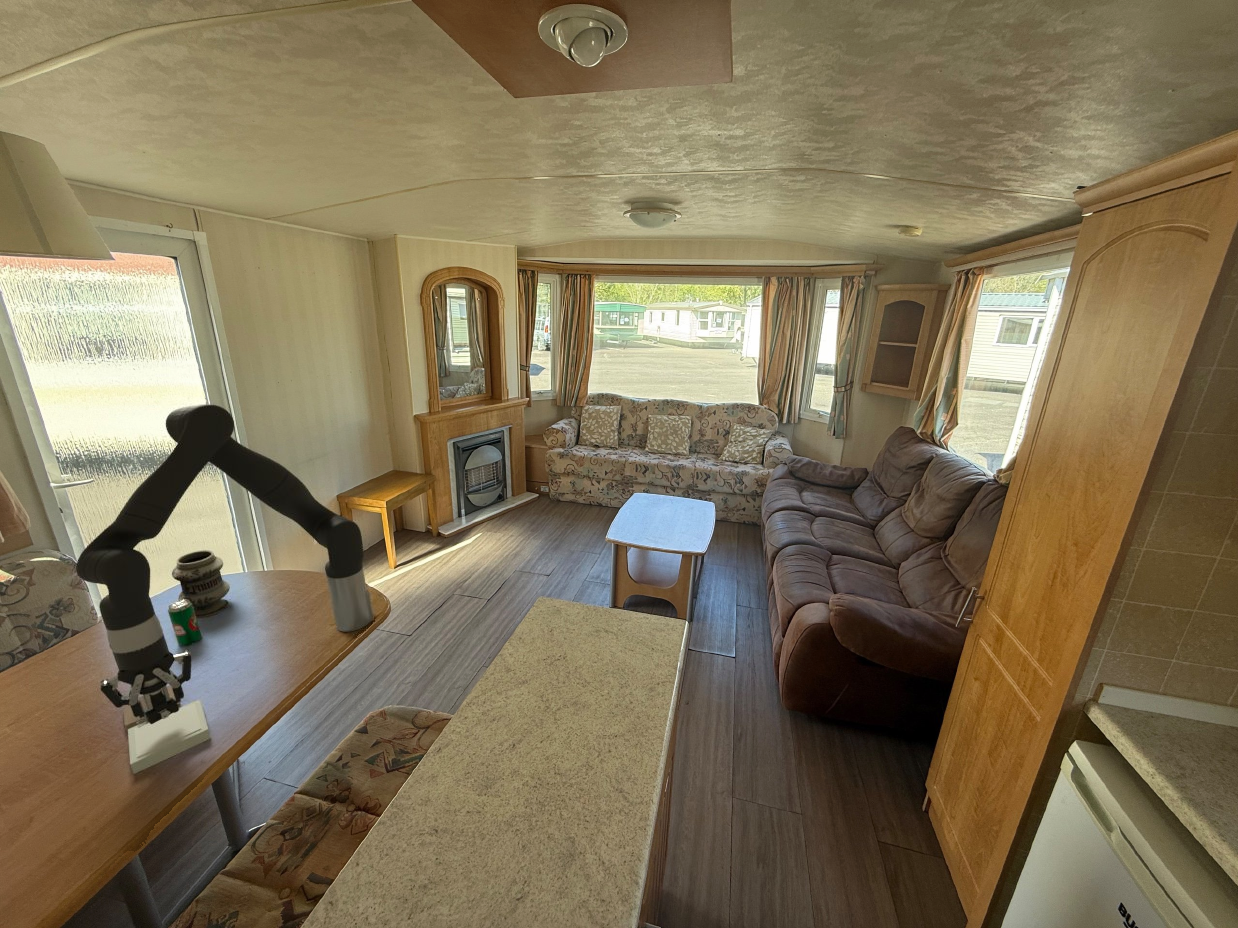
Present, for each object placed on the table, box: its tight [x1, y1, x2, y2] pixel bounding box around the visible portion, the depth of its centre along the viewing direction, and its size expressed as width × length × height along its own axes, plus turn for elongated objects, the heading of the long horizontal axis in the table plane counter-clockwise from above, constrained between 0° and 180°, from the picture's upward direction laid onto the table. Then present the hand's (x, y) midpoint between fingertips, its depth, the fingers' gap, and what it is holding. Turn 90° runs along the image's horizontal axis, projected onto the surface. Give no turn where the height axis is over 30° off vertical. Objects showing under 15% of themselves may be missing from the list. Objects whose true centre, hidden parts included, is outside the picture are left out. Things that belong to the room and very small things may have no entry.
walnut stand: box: [123, 685, 182, 734], centre depth 112 cm, size 9×9×2 cm
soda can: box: [167, 599, 203, 647], centre depth 134 cm, size 5×5×12 cm
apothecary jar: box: [171, 549, 230, 619], centre depth 148 cm, size 12×12×18 cm
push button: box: [136, 678, 179, 728], centre depth 102 cm, size 7×5×10 cm
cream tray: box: [127, 698, 212, 775], centre depth 105 cm, size 12×12×3 cm
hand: (160, 707), depth 103 cm, fingers closed on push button, 5 cm apart
